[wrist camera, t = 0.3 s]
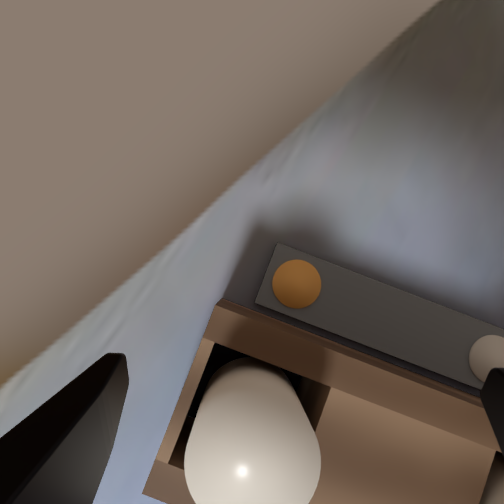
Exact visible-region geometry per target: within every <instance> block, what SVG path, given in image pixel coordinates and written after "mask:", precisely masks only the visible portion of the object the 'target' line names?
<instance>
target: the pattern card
mask: <svg viewBox="0 0 504 504" xmlns="http://www.w3.org/2000/svg"><path fill="white" fill-rule="evenodd" d="M255 303H257V304H259V305H262V306H265V307H267V308H270V309H272V310H275V311H278V312H280V313H283V314H285V315H288V316H291V317H293V318H296V319H298V320H301V321H304V322H306V323H309V324H311V325H314V326H317V327H319V328H322V329H324V330H327V331H330V332H332V333H335V334H337V335H340V336H343V337H345V338H348V339H350V340H353V341H356V342H358V343H361V344H363V345H366V346H368V347H371V348H374V349H376V350H379V351H381V352H384V353H387V354H389V355H392V356H394V357H397V358H400V359H402V360H405V361H407V362H410V363H413V364H415V365H418V366H420V367H423V368H426V369H428V370H431V371H433V372H436V373H439V374H441V375H444V376H446V377H449V378H452V379H454V380H457V381H459V382H462V383H465V384H467V385H470V386H472V387H475V388H478V389H480V390H481V389H482V387H483V384H484V382H485V380H486V378H487V375H488V373H489V371H490V370H491V369H492V368H496V367H497V368H504V329H502V328H499V327H497V326H494V325H491V324H489V323H486V322H484V321H481V320H478V319H476V318H473V317H471V316H468V315H465V314H463V313H460V312H458V311H455V310H452V309H450V308H447V307H445V306H442V305H439V304H437V303H434V302H432V301H429V300H426V299H424V298H421V297H419V296H416V295H413V294H411V293H408V292H406V291H403V290H400V289H398V288H395V287H393V286H390V285H387V284H385V283H382V282H380V281H377V280H375V279H372V278H369V277H367V276H364V275H362V274H359V273H356V272H354V271H351V270H349V269H346V268H343V267H341V266H338V265H336V264H333V263H330V262H328V261H325V260H323V259H320V258H317V257H315V256H312V255H310V254H307V253H304V252H302V251H299V250H297V249H294V248H291V247H289V246H286V245H284V244H281V243H277V244H276V247H275V250H274V252H273V255H272V258H271V260H270V263H269V265H268V268H267V271H266V273H265V276H264V279H263V281H262V284H261V286H260V289H259V292H258V294H257V297H256V300H255Z"/></svg>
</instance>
